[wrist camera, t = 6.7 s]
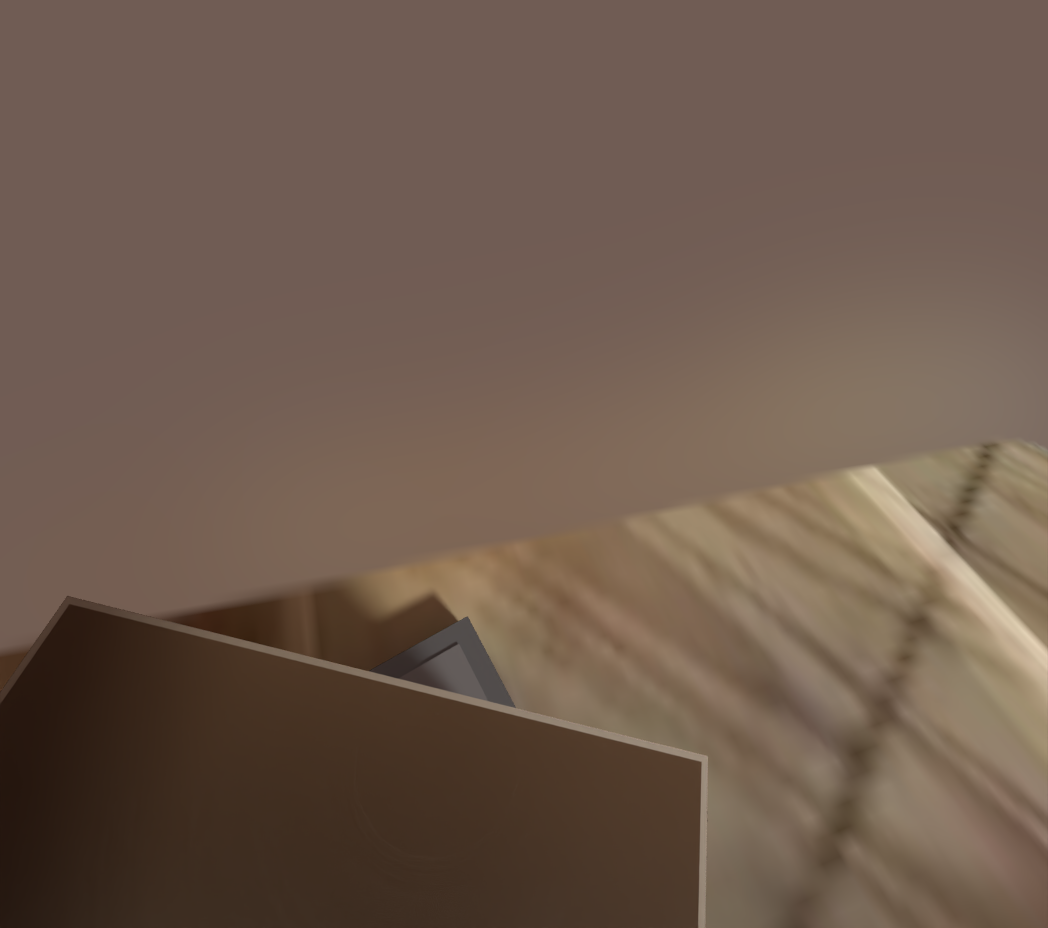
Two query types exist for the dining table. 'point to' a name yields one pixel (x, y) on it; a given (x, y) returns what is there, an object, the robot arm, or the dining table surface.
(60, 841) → the brown tall rectangular block
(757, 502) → the dining table surface
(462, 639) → the slate base
